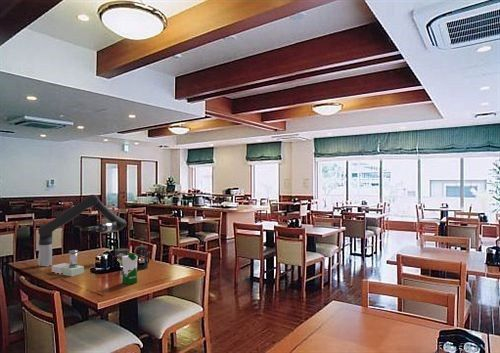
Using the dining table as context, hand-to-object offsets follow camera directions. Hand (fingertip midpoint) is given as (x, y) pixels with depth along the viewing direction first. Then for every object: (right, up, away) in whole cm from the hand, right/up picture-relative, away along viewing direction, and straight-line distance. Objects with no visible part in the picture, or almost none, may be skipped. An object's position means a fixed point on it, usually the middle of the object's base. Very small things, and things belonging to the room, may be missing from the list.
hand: (87, 230), depth 278 cm
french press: (+43, -30, 0) cm, 52 cm away
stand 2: (-3, -30, -17) cm, 34 cm away
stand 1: (-14, -30, -11) cm, 35 cm away
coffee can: (+26, -30, +2) cm, 40 cm away
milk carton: (+46, -30, -39) cm, 68 cm away
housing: (-3, -25, -17) cm, 30 cm away
